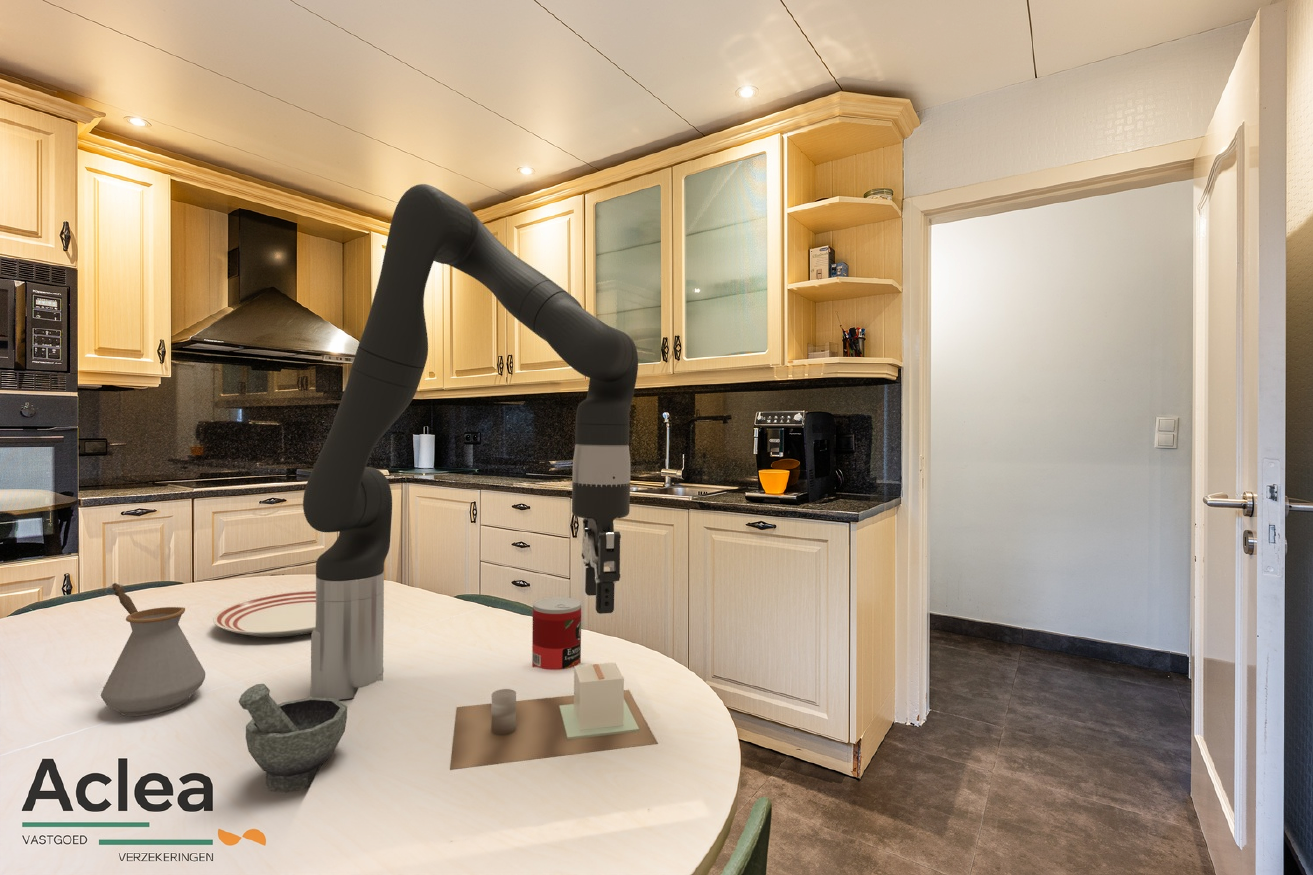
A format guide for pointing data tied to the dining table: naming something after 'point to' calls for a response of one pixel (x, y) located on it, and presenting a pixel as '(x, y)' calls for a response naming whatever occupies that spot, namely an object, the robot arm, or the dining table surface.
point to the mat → (575, 733)
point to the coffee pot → (152, 663)
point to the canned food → (556, 633)
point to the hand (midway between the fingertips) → (598, 603)
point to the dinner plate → (271, 615)
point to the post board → (529, 731)
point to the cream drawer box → (598, 696)
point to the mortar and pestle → (291, 736)
